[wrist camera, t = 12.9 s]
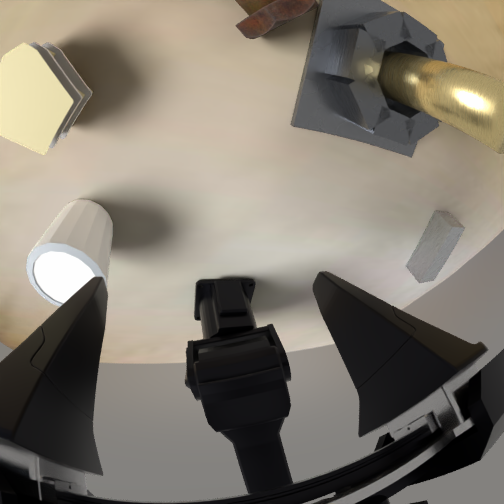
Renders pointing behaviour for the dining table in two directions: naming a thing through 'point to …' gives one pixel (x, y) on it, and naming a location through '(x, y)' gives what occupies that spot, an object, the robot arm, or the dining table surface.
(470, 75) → the pale yellow tall bar
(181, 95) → the dining table surface
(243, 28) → the bolt
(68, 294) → the shot glass
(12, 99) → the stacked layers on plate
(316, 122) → the socket block
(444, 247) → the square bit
